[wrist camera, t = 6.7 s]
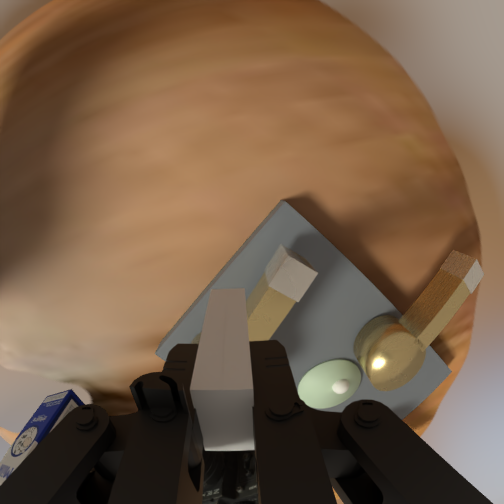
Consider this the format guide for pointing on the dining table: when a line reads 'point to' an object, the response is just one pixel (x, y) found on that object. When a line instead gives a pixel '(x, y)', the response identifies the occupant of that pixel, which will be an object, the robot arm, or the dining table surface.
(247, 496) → the camera
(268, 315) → the knob
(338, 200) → the dining table surface
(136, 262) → the dining table surface
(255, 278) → the level plate
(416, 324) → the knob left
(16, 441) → the milk carton
